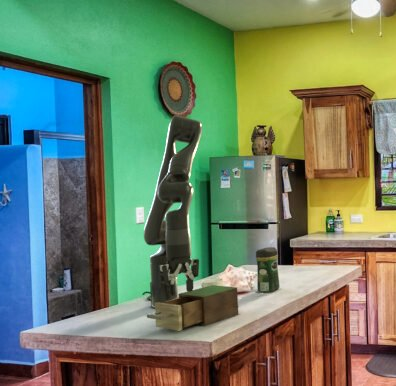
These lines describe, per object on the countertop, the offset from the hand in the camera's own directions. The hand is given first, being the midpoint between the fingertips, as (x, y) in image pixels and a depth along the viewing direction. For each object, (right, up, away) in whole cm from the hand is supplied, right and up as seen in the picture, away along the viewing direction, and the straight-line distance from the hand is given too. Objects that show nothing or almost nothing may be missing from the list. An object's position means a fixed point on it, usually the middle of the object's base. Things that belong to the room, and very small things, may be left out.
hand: (180, 293), depth 159 cm
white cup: (+1, -11, +26) cm, 28 cm away
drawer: (0, -10, -1) cm, 10 cm away
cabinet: (+6, -11, +10) cm, 16 cm away
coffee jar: (+16, -10, +51) cm, 54 cm away
